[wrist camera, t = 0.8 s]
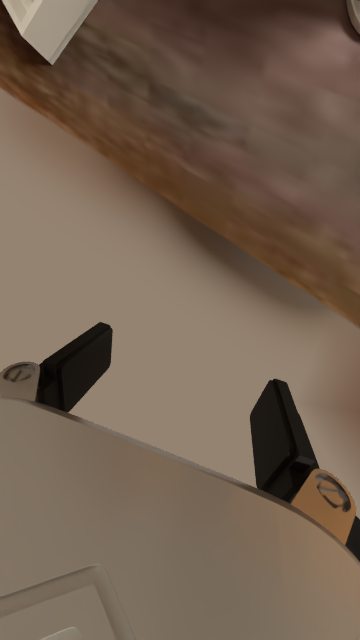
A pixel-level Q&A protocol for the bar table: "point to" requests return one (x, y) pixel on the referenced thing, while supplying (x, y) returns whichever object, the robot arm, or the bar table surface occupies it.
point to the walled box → (48, 22)
